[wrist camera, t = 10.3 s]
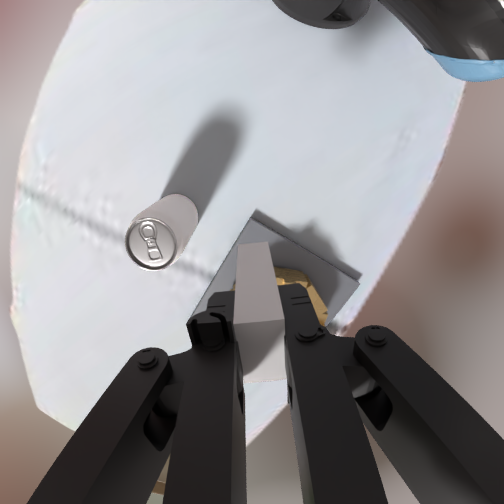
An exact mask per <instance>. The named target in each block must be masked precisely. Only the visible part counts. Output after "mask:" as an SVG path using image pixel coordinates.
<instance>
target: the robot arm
mask: <svg viewBox="0 0 504 504" xmlns="http://www.w3.org/2000/svg"><path fill="white" fill-rule="evenodd" d="M378 1H379V2H380V3H381V4H383V5H384V6H385V7H386V8H387V9H388V10H389V11H390V12H391V13H393V14H394V15H395V16H396V17H397V18H398V19H399V20H400V21H401V22H402V23H403V24H404V25H405V26H406V27H407V29H408V30H409V31H410V32H411V33H412V34H413V35H414V36H415V37H416V38H417V39H418V41H419V42H420V43H421V44H422V45H423V47H424V49H425V50H426V51H427V52H428V53H429V54H430V55H432V56H433V57H434V58H435V60H436V61H437V62H438V63H439V64H440V65H441V67H442V68H443V69H444V70H445V71H446V72H447V73H448V74H449V75H451V76H453V77H455V78H458V79H460V80H464V81H471V82H482V81H491V80H495V79H499V78H503V77H504V0H378ZM273 2H274V3H275V4H276V6H277V7H278V8H279V9H281V10H282V11H283V12H284V13H286V14H287V15H289V16H290V17H292V18H294V19H295V20H297V21H300V22H302V23H304V24H307V25H310V26H314V27H318V28H324V29H340V28H346V27H349V26H351V25H353V24H355V23H356V22H358V21H359V20H360V19H361V18H362V17H363V16H364V15H365V14H366V12H367V10H368V8H369V4H370V0H273ZM186 326H187V329H188V333H189V336H190V339H191V343H192V348H191V349H190V350H188V351H186V352H183V353H180V354H176V355H172V356H168V355H167V353H166V352H165V351H164V350H162V349H159V348H151V347H150V348H146V349H142V350H140V351H138V352H136V353H135V354H134V355H133V356H132V357H131V358H130V359H129V360H128V362H127V363H126V364H125V366H124V367H123V368H122V370H121V371H120V372H119V373H118V375H117V376H116V377H115V379H114V380H113V381H112V383H111V384H110V385H109V387H108V388H107V389H106V391H105V392H104V393H103V395H102V396H101V397H100V399H99V400H98V401H97V403H96V404H95V406H94V407H93V408H92V410H91V411H90V412H89V414H88V415H87V416H86V418H85V419H84V421H83V422H82V423H81V425H80V426H79V428H78V429H77V430H76V432H75V433H74V435H73V436H72V437H71V439H70V440H69V442H68V443H67V444H66V446H65V447H64V449H63V450H62V452H61V453H60V455H59V456H58V457H57V459H56V460H55V462H54V463H53V465H52V466H51V468H50V469H49V471H48V472H47V474H46V475H45V477H44V478H43V480H42V481H41V483H40V484H39V486H38V487H37V489H36V490H35V492H34V493H33V495H32V496H31V498H30V499H29V501H28V503H27V504H146V503H147V500H148V498H149V496H150V494H151V492H152V490H153V488H154V486H155V484H156V482H157V480H158V478H159V476H160V474H161V472H162V470H163V468H164V466H165V464H166V462H167V459H168V457H169V455H170V459H169V465H168V471H167V478H166V484H165V491H164V497H163V504H247V493H246V438H245V393H244V388H243V380H244V383H255V382H266V381H276V380H285V379H287V388H288V403H289V404H290V411H291V417H292V424H293V431H294V438H295V445H296V452H297V459H298V465H299V474H300V481H301V489H302V495H303V503H304V504H388V501H387V498H386V495H385V491H384V488H383V484H382V481H381V478H380V474H379V471H378V468H377V465H376V461H375V458H374V455H373V452H372V449H371V446H370V443H369V440H368V437H367V434H366V431H365V428H364V425H365V426H366V428H367V429H368V431H369V432H370V433H371V435H372V436H373V438H374V439H375V441H376V442H377V444H378V445H379V446H380V448H381V449H382V451H383V452H384V453H385V455H386V456H387V458H388V459H389V461H390V462H391V463H392V465H393V466H394V468H395V469H396V470H397V472H398V473H399V475H400V476H401V477H402V479H403V480H404V482H405V483H406V484H407V486H408V487H409V489H410V490H411V491H412V493H413V494H414V496H415V497H416V498H417V500H418V501H419V503H420V504H504V440H503V439H502V437H501V436H500V435H499V434H498V433H497V432H496V431H495V430H494V429H493V428H492V427H491V426H490V425H489V424H488V423H487V422H486V421H485V420H484V419H483V418H482V417H481V416H480V415H479V414H478V413H477V412H476V411H475V410H474V409H473V408H472V406H470V405H469V404H468V402H467V401H465V400H464V399H463V398H462V397H461V396H460V395H459V394H458V393H457V392H456V391H455V390H454V389H453V388H452V387H451V386H450V385H449V384H448V383H447V382H446V381H445V380H444V379H443V378H442V377H441V376H440V375H439V374H438V373H437V372H436V371H434V369H433V368H431V367H430V366H429V365H428V364H427V363H426V362H425V361H424V360H423V359H422V358H421V357H420V356H419V355H418V354H417V353H415V352H414V351H413V350H412V349H411V348H410V347H409V346H408V345H407V344H406V343H405V342H404V341H402V340H401V339H400V338H399V337H398V336H397V335H396V334H395V333H394V332H393V331H391V330H390V329H388V328H386V327H383V326H377V325H371V326H366V327H363V328H362V329H360V330H359V331H358V332H357V334H356V336H355V338H353V337H340V336H335V335H332V334H330V333H329V331H328V330H327V329H326V327H324V326H322V325H321V324H320V322H319V320H318V317H317V315H316V312H315V309H314V307H313V304H312V302H311V299H310V297H309V294H308V291H307V289H306V288H305V287H304V286H302V285H301V284H300V283H295V284H286V285H277V281H276V277H275V272H274V268H273V263H272V258H271V254H270V249H269V245H268V242H259V243H249V244H239V245H238V255H237V270H236V286H235V290H234V291H223V292H214V293H213V295H212V296H211V297H210V298H209V299H208V303H207V308H206V311H202V312H200V313H197V314H195V315H194V316H192V317H191V318H190V319H189V320H188V322H187V323H186ZM363 423H364V425H363ZM170 453H171V454H170Z"/></svg>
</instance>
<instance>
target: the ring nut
mask: <svg viewBox="0 0 504 504" xmlns="http://www.w3.org/2000/svg"><path fill="white" fill-rule="evenodd" d="M273 268H274V272H275V277H276V281H277V285H286V284H295V283H300V284H301V285H302V286H304V287H305V288H306V289H307V291H308V294H309V297H310V299H311V302H312V304H313V307H314V309H315V312H316V315H317V317H318V320H319V322H320V324H321V325H322V326H324V327H325V322H326V319H327V316H328V313H327V311H328V309H327V307H326V305H325V303H324V301H323V300H322V298H321V296H320V294H319V293H318V291H317V290H316V288H315V286H314V285H313V283H312V282H311V280H310V279H309V277H308V275H307V274H305V275H304V273H303V271H298V270H292V269H286V268H280V267H274V266H273ZM235 286H236V284H234V285H233V289H230V291H234V290H235Z"/></svg>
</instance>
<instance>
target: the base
mask: <svg viewBox="0 0 504 504" xmlns="http://www.w3.org/2000/svg"><path fill="white" fill-rule="evenodd" d="M259 242H268V245H269V249H270V254H271V258H272V263H273V266H274V267H280V268H286V269H292V270H298V271H303V273H304V275H305V274H307V275H308V277H309V279H310V280H311V282H312V283H313V285H314V286H315V288H316V290H317V291H318V293H319V294H320V296H321V298H322V300H323V301H324V303H325V305H326V307H327V309H328V311H327V313H328V316H327V319H326V322H325V327H327V325H328V324H329V323H330V322H331V321H332V319H333V318H334V317H335V316H336V314H337V313H338V312H339V311H340V309H341V308H342V307H343V306H344V304H345V303H346V302H347V301H348V299H349V298H350V297H351V296H352V294H353V293H354V292H355V290H356V289H357V288H358V286H359V285H360V283H359V282H358V281H357V280H355V279H354V278H352V277H351V276H349V275H347V274H346V273H344V272H342V271H341V270H339V269H338V268H336V267H334V266H333V265H331V264H329V263H328V262H326V261H324V260H323V259H321V258H319V257H318V256H316V255H315V254H313V253H311V252H310V251H308V250H306V249H304V248H303V247H301V246H299V245H298V244H296V243H294V242H293V241H291V240H289V239H288V238H286V237H284V236H282V235H281V234H279V233H277V232H276V231H274V230H272V229H270V228H269V227H267V226H265V225H264V224H262V223H260V222H258V221H257V220H255V219H253V218H251V217H250V219H249V220H248V222H247V224H246V225H245V227H244V229H243V230H242V232H241V233H240V235H239V237H238V238H237V240H236V242H235V243H234V245H233V247H232V248H231V250H230V252H229V253H228V255H227V256H226V258H225V260H224V261H223V263H222V265H221V266H220V268H219V270H218V271H217V273H216V275H215V276H214V278H213V280H212V281H211V283H210V285H209V287H208V288H207V290H206V292H205V293H204V295H203V297H202V298H201V300H200V302H199V303H198V305H197V307H196V309H195V310H194V312H193V314H192V315H191V317H192V316H194V315H195V314H197V313H200V312H202V311H206V308H207V303H208V299H209V298H210V297H211V296H212V295H213V293H214V292H223V291H230V289H233V285H234V284H236V270H237V255H238V245H239V244H249V243H259ZM191 317H190V318H191Z"/></svg>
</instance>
